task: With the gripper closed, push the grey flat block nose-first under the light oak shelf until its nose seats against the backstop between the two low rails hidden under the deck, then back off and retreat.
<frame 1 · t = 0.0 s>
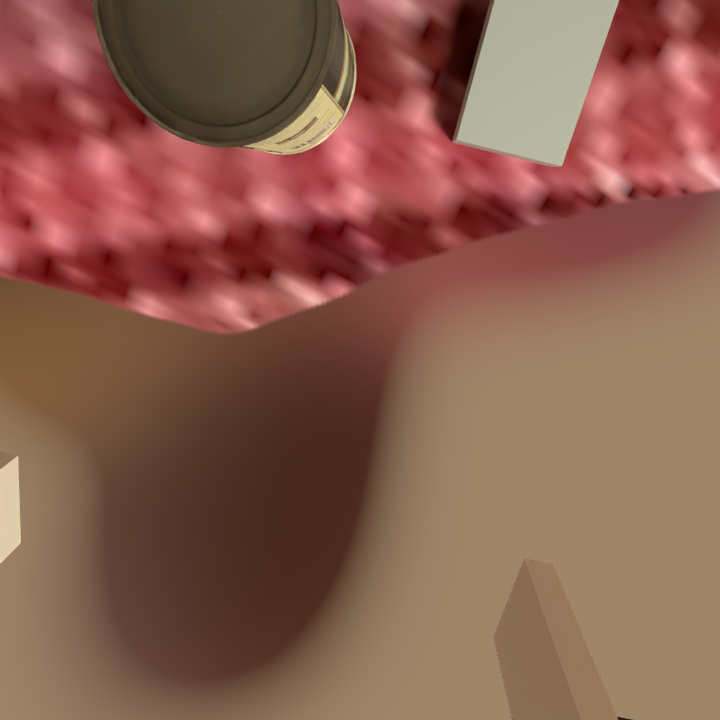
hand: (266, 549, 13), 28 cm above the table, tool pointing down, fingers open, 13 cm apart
coffee can: (280, 73, 35), on the table
grey flat block: (534, 41, 34), on the table
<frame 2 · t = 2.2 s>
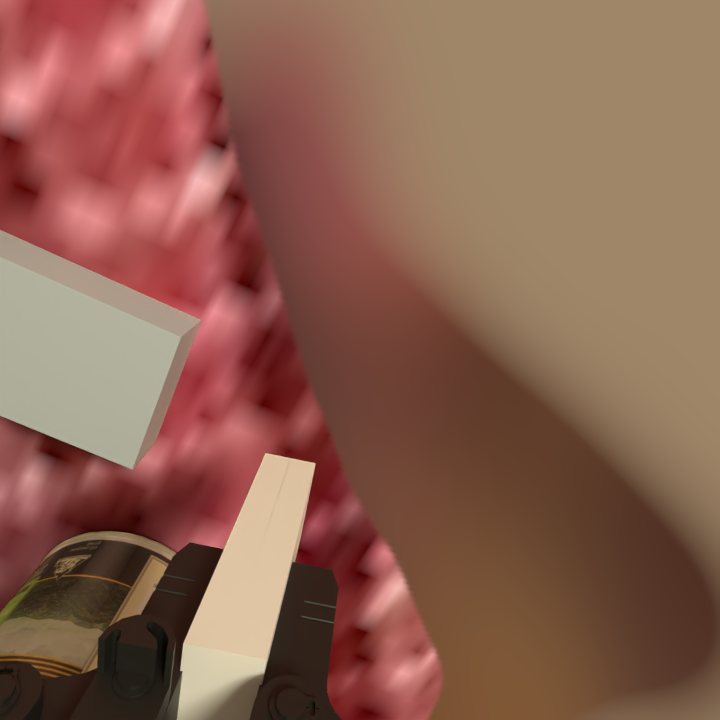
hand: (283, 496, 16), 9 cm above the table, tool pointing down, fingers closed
coffee can: (127, 600, 30), on the table
grey flat block: (40, 319, 24), on the table
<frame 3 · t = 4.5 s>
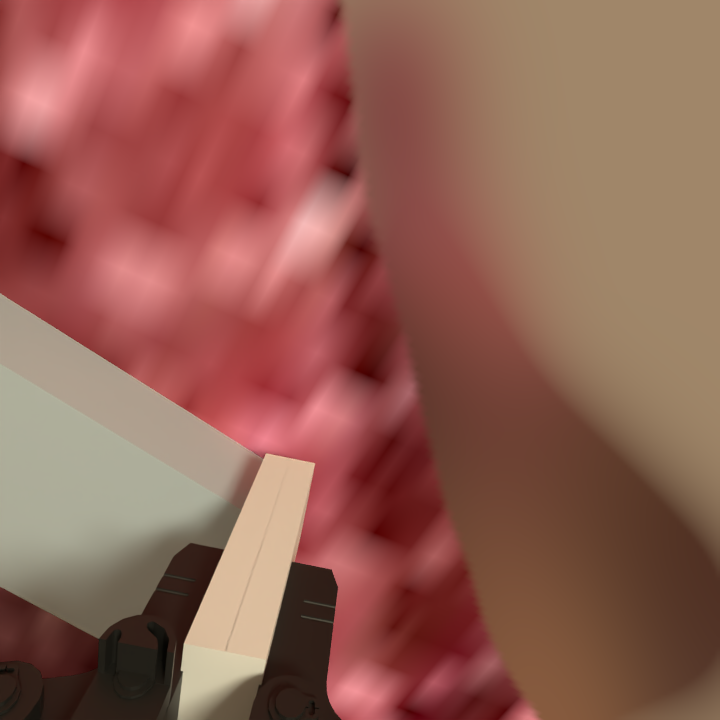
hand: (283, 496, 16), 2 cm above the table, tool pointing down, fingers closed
grey flat block: (40, 421, 17), on the table, touching gripper
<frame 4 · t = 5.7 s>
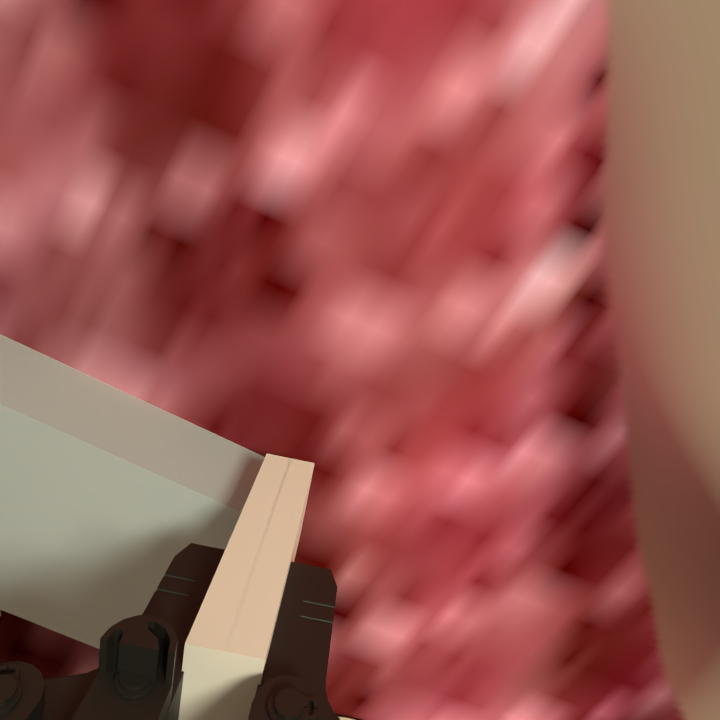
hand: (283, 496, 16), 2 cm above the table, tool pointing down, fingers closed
grey flat block: (42, 451, 18), on the table, touching gripper, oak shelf
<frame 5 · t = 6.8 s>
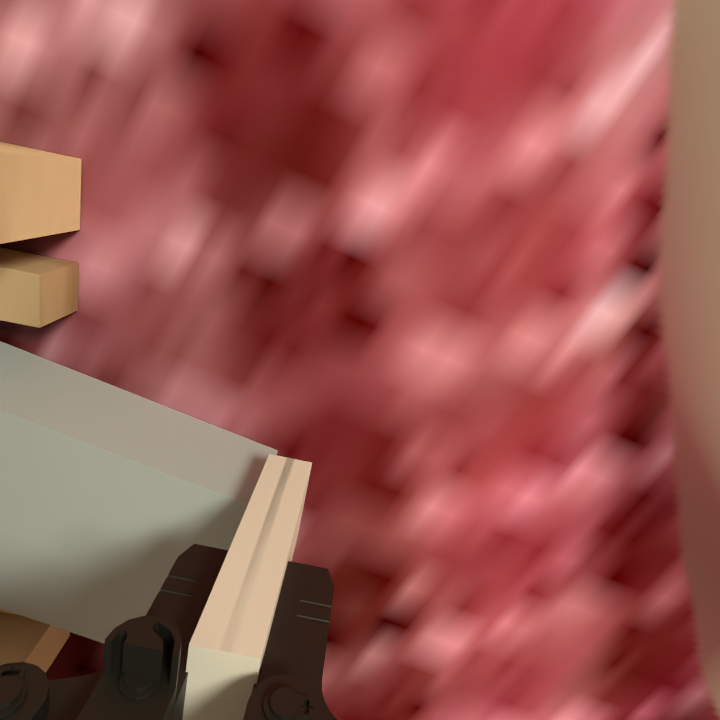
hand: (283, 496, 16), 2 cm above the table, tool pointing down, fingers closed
grey flat block: (50, 456, 18), on the table, touching gripper, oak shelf
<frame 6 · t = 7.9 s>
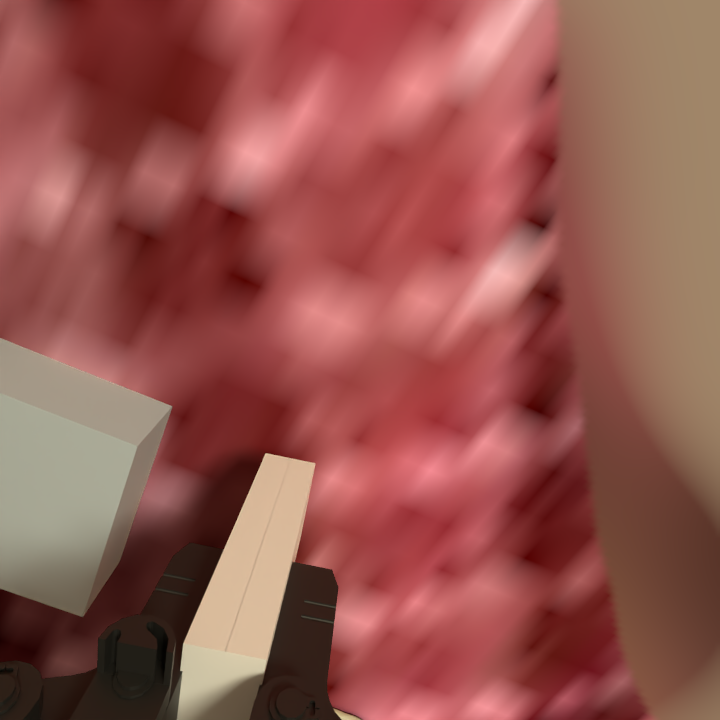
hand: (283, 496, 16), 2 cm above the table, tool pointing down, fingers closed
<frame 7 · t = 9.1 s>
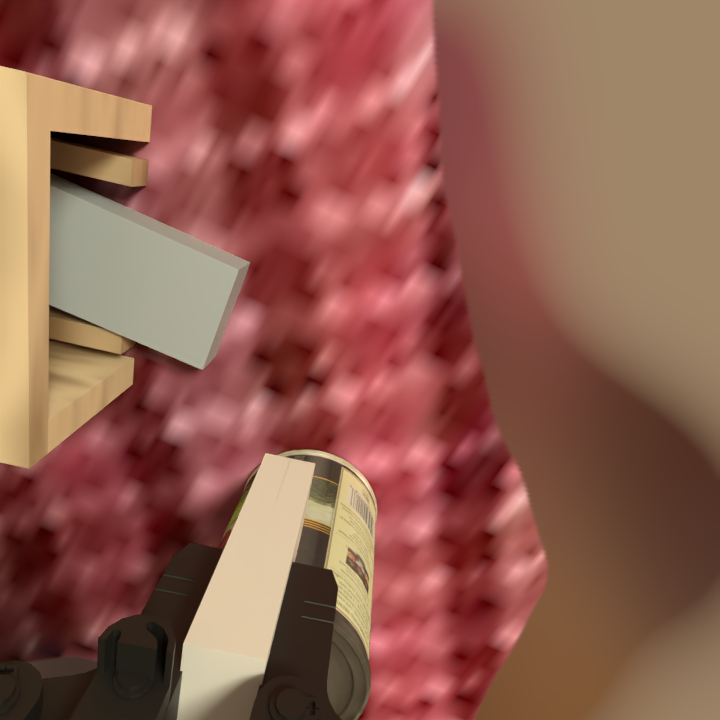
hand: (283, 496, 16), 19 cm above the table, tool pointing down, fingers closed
coffee can: (310, 507, 39), on the table
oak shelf: (79, 243, 33), on the table
grey flat block: (134, 265, 34), on the table
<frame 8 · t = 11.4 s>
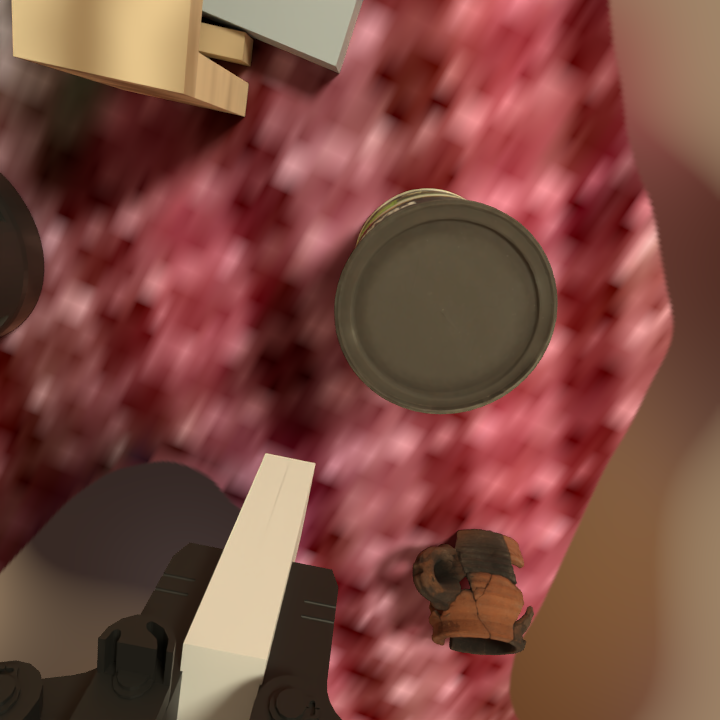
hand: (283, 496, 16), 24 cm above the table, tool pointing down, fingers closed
pottery mug: (463, 563, 47), on the table
coffee can: (424, 263, 37), on the table
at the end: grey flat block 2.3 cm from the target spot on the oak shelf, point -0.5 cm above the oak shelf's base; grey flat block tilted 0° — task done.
